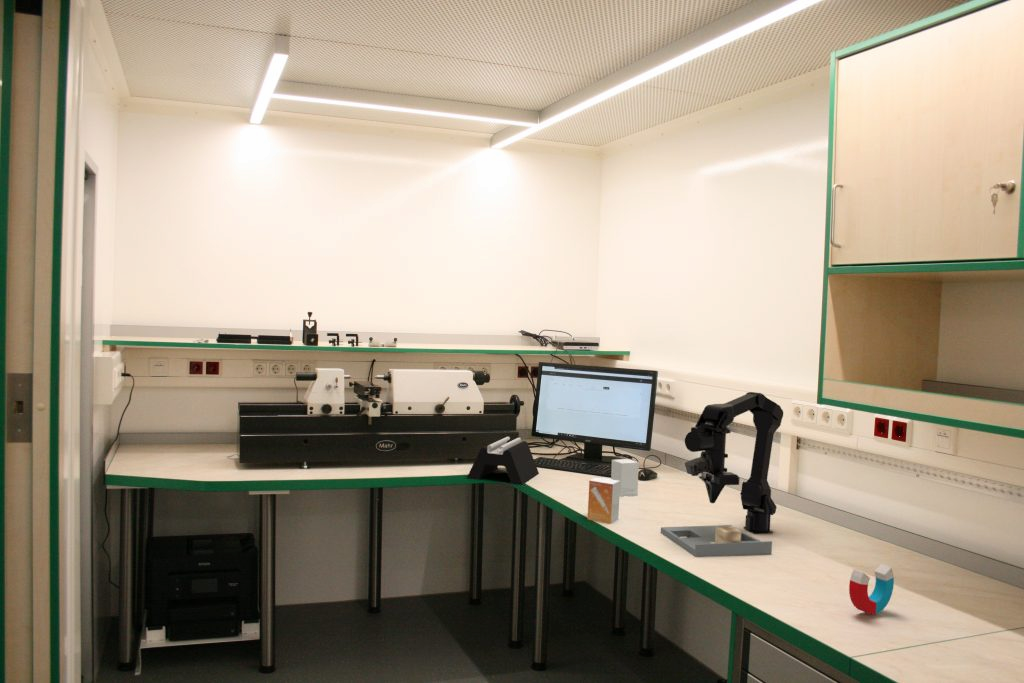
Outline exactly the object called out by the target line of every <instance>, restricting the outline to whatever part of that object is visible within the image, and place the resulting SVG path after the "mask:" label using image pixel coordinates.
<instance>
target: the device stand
mask: <svg viewBox="0 0 1024 683" xmlns="http://www.w3.org/2000/svg"><path fill="white" fill-rule="evenodd" d="M510 439H511V437H510V436H506V437H504V438H501V439H499V440H497V441H495V442H492V443H490V444H488V445H485V446H484V447H482V448H480V449H479V451H478V453H477V455H476V458H475V459H474V462H473V464H472V467H471V468H470V469H469V472H468V475H467V476H466V479H469V480H478V481H479V480H481V479H483V478H485V477H486V476H488V475H490V474H492V473H493V472H494V473H495V471H497V470H499V467H504V468H505V470H506V471H505V472H506V473H507V477H508V478H509V483H508V484H510V485H511V484H512V485H517V486H518V485H520V486H523V485H525V484H527V483H528V482H529V481H531V480H532V479H534V478H535V477H537V476H538V475H539V474H540V473H539V470H538V467H537V465H536V461H535V459H534V456H533V454H532V450H531V449H530V446H529V443H528V442H527V441H526V440H523V441H522V438H521V437H517V438H514V439H513V440H510ZM509 440H510V441H509ZM508 441H509V442H508ZM498 466H499V467H498Z"/></svg>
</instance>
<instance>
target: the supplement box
mask: <svg viewBox="0 0 1024 683" xmlns="http://www.w3.org/2000/svg"><path fill="white" fill-rule="evenodd" d="M639 463H640V462H639V461H636V460H632V459H630V458H623V459H622V458H621V459H620V458H619V459H618V458H617V459H611V472H610V473H611V474H610V476H611V477H610V479H612V480H619V481H620V495H619V498H620V497H621V498H622V497H623V498H624V496H628V497H638V494H639V493H638V492H639V465H640V464H639Z"/></svg>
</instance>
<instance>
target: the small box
mask: <svg viewBox="0 0 1024 683" xmlns="http://www.w3.org/2000/svg"><path fill="white" fill-rule="evenodd" d="M588 483H589V484H588V501H587V520H588V521H595V522H599V523H605V524H610V525H611V524H613V523H615V522H617V521H618V520H619V516H620V514H619V512H620V496H619V495H620V481H619V480H612V479H611V478H604V477H594V478H591V479H590V480H589V482H588Z"/></svg>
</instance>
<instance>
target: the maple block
mask: <svg viewBox="0 0 1024 683" xmlns="http://www.w3.org/2000/svg"><path fill="white" fill-rule="evenodd" d="M732 526H733V525H732ZM732 526H723V527H716V529H715V543H737V542H741V531H742V530H741V529H739V528H737V527H735V526H733V527H732ZM734 527H735V528H734ZM736 528H737V529H736ZM738 529H739V530H738ZM740 530H741V531H740Z"/></svg>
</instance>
